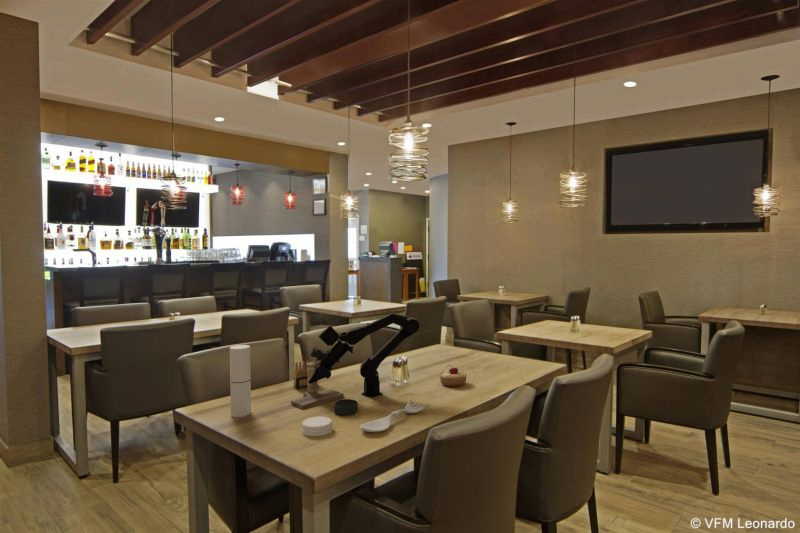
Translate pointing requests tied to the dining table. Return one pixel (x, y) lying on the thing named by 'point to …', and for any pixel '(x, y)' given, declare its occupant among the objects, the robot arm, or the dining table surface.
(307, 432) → the coaster
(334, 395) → the walnut plank
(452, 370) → the pastry
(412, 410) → the white spork
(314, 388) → the beige round-topped column
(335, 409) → the smart speaker
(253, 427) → the dining table surface
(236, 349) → the cylindrical container
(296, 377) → the ammunition clip
